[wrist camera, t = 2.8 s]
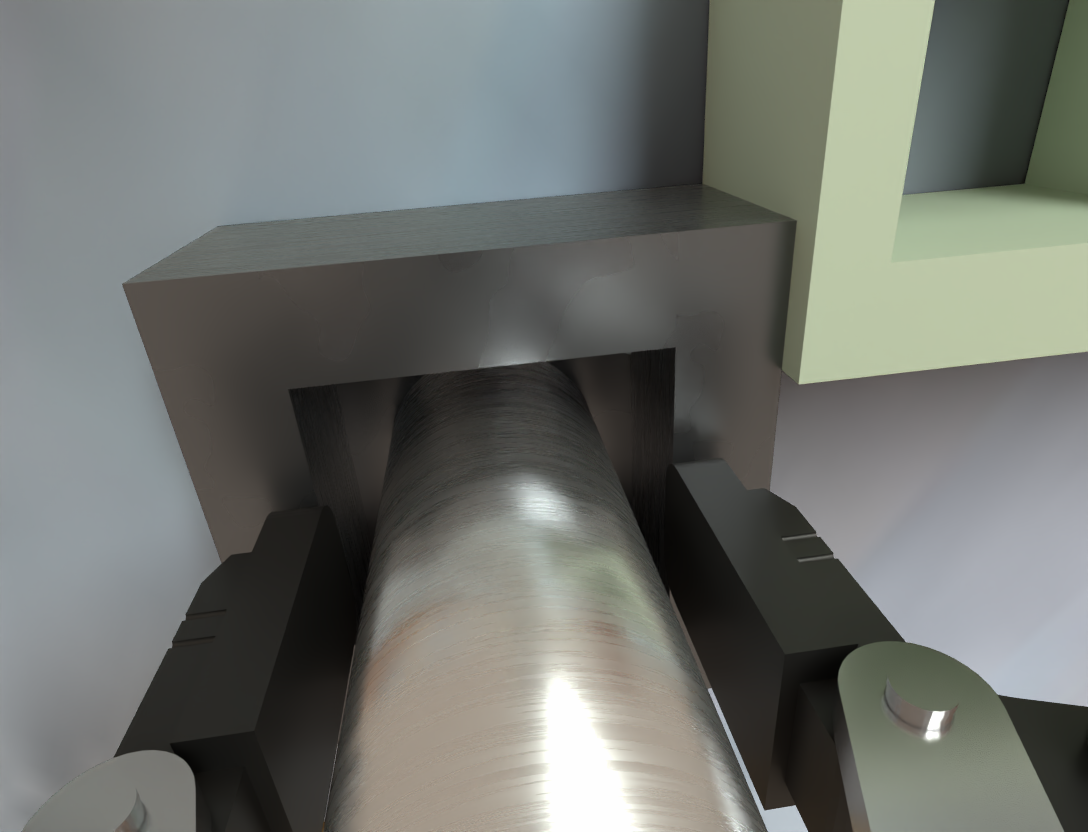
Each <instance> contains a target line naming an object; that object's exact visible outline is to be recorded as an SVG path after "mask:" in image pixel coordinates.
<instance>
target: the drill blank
mask: <svg viewBox="0 0 1088 832" xmlns="http://www.w3.org/2000/svg"><path fill="white" fill-rule="evenodd" d="M323 832H768V831H767V829H766V827H765V824H764V822H763V819H762V817H761V815H760V812H759V810H758V808H757V805H756V803H755V801H754V798H753V796H752V793H751V791H750V789H749V786H748V784H747V782H746V779H745V777H744V774H743V772H742V770H741V767H740V765H739V763H738V760H737V758H736V756H735V753H734V751H733V748H732V746H731V744H730V741H729V739H728V737H727V734H726V732H725V729H724V727H723V725H722V722H721V720H720V718H719V715H718V713H717V711H716V708H715V706H714V703H713V701H712V699H711V696H710V694H709V692H708V689H707V687H706V685H705V682H704V680H703V677H702V675H701V673H700V670H699V668H698V666H697V663H696V661H695V658H694V656H693V654H692V651H691V649H690V647H689V644H688V642H687V640H686V637H685V635H684V632H683V630H682V628H681V625H680V623H679V621H678V618H677V616H676V613H675V611H674V609H673V606H672V604H671V602H670V599H669V597H668V595H667V592H666V590H665V587H664V585H663V583H662V580H661V578H660V576H659V573H658V571H657V568H656V566H655V564H654V561H653V559H652V557H651V554H650V552H649V550H648V547H647V545H646V542H645V540H644V538H643V535H642V533H641V531H640V528H639V526H638V524H637V521H636V519H635V516H634V514H633V512H632V509H631V507H630V505H629V502H628V500H627V497H626V495H625V493H624V490H623V488H622V486H621V483H620V481H619V479H618V476H617V474H616V471H615V469H614V467H613V464H612V462H611V460H610V457H609V455H608V452H607V450H606V448H605V445H604V443H603V441H602V438H601V436H600V434H599V431H598V429H597V426H596V424H595V422H594V419H593V417H592V415H591V412H590V410H589V408H588V405H587V403H586V401H585V399H584V397H583V395H582V394H581V392H580V390H579V389H578V388H577V386H576V385H575V384H574V383H573V382H572V381H571V379H570V378H568V377H567V376H566V375H565V374H564V373H563V372H562V371H560V370H559V369H557V368H556V367H555V366H553V365H552V364H550V363H548V362H546V361H544V362H535V363H526V364H516V365H507V366H498V367H489V368H479V369H470V370H461V371H452V372H442V373H433V374H425V375H424V376H423V377H421V378H420V379H419V381H418V382H417V383H416V384H415V385H414V386H413V387H412V388H411V389H410V391H409V392H408V394H407V395H406V396H405V398H404V400H403V401H402V403H401V405H400V407H399V409H398V412H397V415H396V418H395V421H394V426H393V431H392V437H391V442H390V448H389V454H388V460H387V465H386V471H385V477H384V483H383V489H382V494H381V500H380V506H379V512H378V518H377V523H376V529H375V535H374V541H373V547H372V552H371V558H370V564H369V570H368V575H367V581H366V587H365V593H364V599H363V604H362V610H361V616H360V622H359V628H358V633H357V639H356V645H355V651H354V656H353V662H352V668H351V674H350V680H349V685H348V691H347V697H346V703H345V709H344V714H343V720H342V726H341V732H340V738H339V743H338V749H337V755H336V761H335V766H334V772H333V778H332V784H331V790H330V795H329V801H328V807H327V813H326V819H325V824H324V830H323Z"/></svg>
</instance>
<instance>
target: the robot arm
mask: <svg viewBox="0 0 1088 832" xmlns="http://www.w3.org/2000/svg"><path fill="white" fill-rule="evenodd" d="M664 560H665V568H666V574H667V579H668V584H669V587H670V591H671V594H672V596H673V599H674V601H675V604H676V606H677V608H678V611H679V613H680V615H681V617H682V620H683V622H684V624H685V627H686V629H687V631H688V634H689V636H690V638H691V641H692V643H693V645H694V648H695V650H696V652H697V655H698V657H699V659H700V662H701V664H702V666H703V669H704V671H705V673H706V676H707V678H708V680H709V683H710V685H711V687H712V690H713V692H714V694H715V696H716V699H717V701H718V703H719V706H720V708H721V710H722V713H723V715H724V717H725V720H726V722H727V724H728V727H729V729H730V731H731V734H732V736H733V738H734V741H735V743H736V745H737V748H738V750H739V752H740V755H741V757H742V759H743V762H744V764H745V766H746V769H747V771H748V773H749V775H750V778H751V780H752V782H753V785H754V787H755V789H756V792H757V794H758V796H759V799H760V801H761V803H762V806H763V808H764V810H769V809H775V808H781V807H787V806H793V805H796V807H797V809H798V811H799V813H800V815H801V817H802V819H803V821H804V823H805V826H806V828H807V830H808V832H1088V707H1085V706H1076V705H1068V704H1060V703H1052V702H1044V701H1036V700H1028V699H1020V698H1013V697H1007V696H1001V695H997V694H996V693H995V692H994V690H993V689H992V688H991V687H990V685H989V684H987V683H986V682H985V681H984V680H983V679H982V678H981V677H980V676H979V675H978V674H976V673H975V672H974V671H972V670H971V669H970V668H969V667H967V666H966V665H964V664H962V663H961V662H959V661H957V660H956V659H954V658H952V657H950V656H948V655H946V654H944V653H942V652H939V651H936V650H934V649H931V648H928V647H925V646H921V645H917V644H913V643H906V642H905V641H904V639H903V638H902V637H901V636H900V634H899V633H898V632H897V631H896V630H895V628H894V627H893V626H892V625H891V623H890V622H889V621H888V620H887V618H886V617H885V616H884V615H883V614H882V612H881V611H880V610H879V609H878V607H877V606H876V605H875V604H874V603H873V601H872V600H871V599H870V598H869V596H868V595H867V594H866V593H865V591H864V590H863V589H862V588H861V587H860V585H859V584H858V583H857V582H856V580H855V579H854V578H853V577H852V575H851V574H850V573H849V572H848V571H847V569H846V568H845V567H844V566H843V564H842V563H841V562H840V561H839V560H838V559H834V556H833V552H832V551H831V550H830V548H829V547H828V546H827V545H826V544H825V542H824V541H823V540H822V539H821V537H817V536H816V531H815V530H814V529H813V528H812V526H811V525H810V524H809V523H808V521H807V520H806V519H805V518H804V516H803V515H802V514H801V513H800V512H799V510H798V509H797V508H796V507H795V506H793V505H792V504H790V503H788V502H787V501H785V500H783V499H782V498H780V497H778V496H777V495H775V494H773V493H772V492H770V491H769V490H767V489H765V488H760V489H752V490H746V488H745V487H744V485H743V484H742V483H741V481H740V480H739V479H738V477H737V476H736V474H735V473H734V472H733V470H732V469H731V468H730V466H729V465H728V463H727V462H726V461H725V460H724V459H722V458H715V459H707V460H699V461H691V462H683V463H674V464H669V466H668V467H667V471H666V478H665V527H664ZM355 638H356V606H355V598H354V593H353V589H352V585H351V581H350V577H349V573H348V569H347V565H346V561H345V557H344V553H343V549H342V545H341V541H340V537H339V533H338V529H337V525H336V521H335V518H334V515H333V512H332V510H331V508H330V507H329V506H328V505H325V506H316V507H308V508H300V509H292V510H284V511H276V512H271V513H269V515H268V516H267V518H266V520H265V522H264V524H263V527H262V529H261V531H260V534H259V536H258V538H257V541H256V543H255V545H254V548H253V550H252V552H248V553H240V554H232V555H230V556H229V557H228V558H227V559H226V560H225V561H224V562H223V563H222V564H221V565H220V566H219V567H218V568H217V569H216V570H215V571H214V572H213V573H212V574H211V575H209V576H208V577H207V578H206V579H205V580H204V581H203V582H202V583H201V585H200V587H199V589H198V591H197V593H196V595H195V597H194V599H193V601H192V603H191V605H190V607H189V609H188V611H187V613H186V621H182V623H181V625H180V627H179V629H178V631H177V633H176V635H175V637H174V639H173V641H172V644H173V646H172V648H170V649H168V651H167V653H166V655H165V657H164V659H163V661H162V663H161V665H160V667H159V669H158V671H157V673H156V675H155V676H154V678H153V680H152V682H151V684H150V686H149V688H148V690H147V692H146V694H145V696H144V698H143V700H142V702H141V704H140V706H139V708H138V710H137V712H136V714H135V716H134V718H133V720H132V722H131V724H130V726H129V728H128V730H127V732H126V734H125V736H124V738H123V740H122V742H121V744H120V746H119V748H118V750H117V752H116V754H115V756H114V758H112V759H110V760H108V761H105V762H103V763H101V764H98V765H96V766H95V767H93V768H91V769H89V770H87V771H86V772H84V773H82V774H81V775H79V776H78V777H76V778H75V779H73V780H72V781H70V782H69V783H67V784H66V785H65V786H64V787H62V788H61V789H60V790H59V791H58V792H56V793H55V794H54V795H53V796H52V797H51V798H50V799H49V800H48V801H47V802H46V803H45V804H43V805H42V806H41V807H40V808H39V810H38V811H37V812H36V813H35V814H34V815H33V817H32V818H31V819H30V820H29V821H28V823H27V824H26V826H25V827H24V829H23V830H22V831H21V832H322V828H323V822H324V816H325V811H326V805H327V799H328V794H329V788H330V782H331V776H332V771H333V765H334V759H335V754H336V748H337V742H338V736H339V731H340V725H341V719H342V713H343V708H344V702H345V696H346V691H347V685H348V679H349V673H350V668H351V662H352V656H353V651H354V645H355Z"/></svg>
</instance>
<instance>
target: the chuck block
mask: <svg viewBox="0 0 1088 832" xmlns="http://www.w3.org/2000/svg"><path fill="white" fill-rule="evenodd" d="M796 225H797V220H794V219H792V218H789V217H787V216H784V215H782V214H779V213H777V212H774V211H772V210H769V209H766V208H764V207H761V206H759V205H756V204H754V203H751V202H749V201H746V200H744V199H741V198H738V197H736V196H733V195H731V194H728V193H726V192H723V191H721V190H718V189H716V188H713V187H710V186H708V185H705V184H703V183H701V184H690V185H678V186H667V187H656V188H645V189H633V190H622V191H611V192H599V193H588V194H577V195H565V196H554V197H543V198H532V199H520V200H509V201H498V202H486V203H475V204H464V205H452V206H441V207H430V208H418V209H407V210H396V211H385V212H373V213H362V214H351V215H339V216H328V217H317V218H305V219H294V220H283V221H271V222H260V223H249V224H238V225H226V226H217V227H216V228H214V229H213V230H211V231H209V232H208V233H206V234H204V235H203V236H201V237H199V238H198V239H196V240H194V241H193V242H191V243H189V244H188V245H186V246H184V247H183V248H181V249H179V250H178V251H176V252H174V253H173V254H171V255H169V256H168V257H166V258H164V259H163V260H161V261H159V262H158V263H156V264H154V265H153V266H151V267H149V268H148V269H146V270H145V271H143V272H141V273H140V274H138V275H136V276H135V277H133V278H131V279H130V280H128V281H126V282H125V283H123V284H122V285H123V288H124V291H125V294H126V296H127V299H128V302H129V305H130V308H131V310H132V313H133V316H134V319H135V322H136V324H137V327H138V330H139V333H140V336H141V338H142V341H143V344H144V347H145V350H146V352H147V355H148V358H149V361H150V364H151V366H152V369H153V372H154V375H155V378H156V380H157V383H158V386H159V389H160V392H161V394H162V397H163V400H164V403H165V406H166V408H167V411H168V414H169V417H170V420H171V422H172V425H173V428H174V431H175V434H176V436H177V439H178V442H179V445H180V448H181V450H182V453H183V456H184V459H185V462H186V464H187V467H188V470H189V473H190V476H191V478H192V481H193V484H194V487H195V490H196V492H197V495H198V498H199V501H200V504H201V506H202V509H203V512H204V515H205V518H206V520H207V523H208V526H209V529H210V532H211V534H212V537H213V540H214V543H215V546H216V548H217V551H218V554H219V557H220V560H221V562H222V563H223V562H224V561H225V560H226V559H227V558H228V557H229V556H230V555H232V554H240V553H248V552H252V550H253V548H254V545H255V543H256V541H257V538H258V536H259V534H260V531H261V529H262V527H263V524H264V522H265V520H266V518H267V516H268V515H269V513H271V512H276V511H284V510H292V509H300V508H308V507H316V506H325V505H328V506H329V507H330V508H331V510H332V512H333V515H334V518H335V521H336V525H337V529H338V533H339V537H340V541H341V545H342V549H343V553H344V557H345V561H346V565H347V569H348V573H349V577H350V581H351V585H352V589H353V593H354V598H355V606H356V638H355V645H356V639H357V633H358V628H359V622H360V616H361V610H362V604H363V599H364V593H365V587H366V581H367V575H368V570H369V564H370V558H371V552H372V547H373V541H374V535H375V529H376V523H377V518H378V512H379V506H380V500H381V494H382V489H383V483H384V477H385V471H386V465H387V460H388V454H389V448H390V442H391V437H392V431H393V426H394V421H395V418H396V415H397V412H398V409H399V407H400V405H401V403H402V401H403V400H404V398H405V396H406V395H407V394H408V392H409V391H410V389H411V388H412V387H413V386H414V385H415V384H416V383H417V382H418V381H419V379H420V378H421V377H423V376H424V375H425V374H433V373H442V372H452V371H461V370H470V369H479V368H489V367H498V366H507V365H516V364H526V363H535V362H544V361H546V362H548V363H550V364H552V365H553V366H555V367H556V368H557V369H559V370H560V371H562V372H563V373H564V374H565V375H566V376H567V377H568V378H570V379H571V381H572V382H573V383H574V384H575V385H576V386H577V388H578V389H579V390H580V392H581V394H582V395H583V397H584V399H585V401H586V403H587V405H588V408H589V410H590V412H591V415H592V417H593V419H594V422H595V424H596V426H597V429H598V431H599V434H600V436H601V438H602V441H603V443H604V445H605V448H606V450H607V452H608V455H609V457H610V460H611V462H612V464H613V467H614V469H615V471H616V474H617V476H618V479H619V481H620V483H621V486H622V488H623V490H624V493H625V495H626V497H627V500H628V502H629V505H630V507H631V509H632V512H633V514H634V516H635V519H636V521H637V524H638V526H639V528H640V531H641V533H642V535H643V538H644V540H645V542H646V545H647V547H648V550H649V552H650V554H651V557H652V559H653V561H654V564H655V566H656V568H657V571H658V573H659V576H660V578H661V580H662V583H663V585H664V587H665V590H666V592H667V595H668V597H669V599H670V602H671V604H672V606H673V609H674V611H675V613H676V616H677V618H678V621H679V623H680V625H681V628H682V630H683V632H684V635H685V637H686V640H687V642H688V644H689V647H690V649H691V651H692V654H693V656H694V658H695V661H696V663H697V666H698V668H699V670H700V673H701V675H702V677H703V680H704V682H705V685H706V687H707V689H708V688H712V687H711V685H710V683H709V680H708V678H707V676H706V673H705V671H704V669H703V666H702V664H701V662H700V659H699V657H698V655H697V652H696V650H695V648H694V645H693V643H692V641H691V638H690V636H689V634H688V631H687V629H686V627H685V624H684V622H683V620H682V617H681V615H680V613H679V611H678V608H677V606H676V604H675V601H674V599H673V596H672V594H671V591H670V587H669V584H668V579H667V574H666V568H665V560H664V527H665V478H666V471H667V467H668V466H669V464H674V463H683V462H691V461H699V460H707V459H715V458H722V459H724V460H725V461H726V462H727V463H728V465H729V466H730V468H731V469H732V470H733V472H734V473H735V474H736V476H737V477H738V479H739V480H740V481H741V483H742V484H743V485H744V487H745V488H746V490H752V489H760V488H765V489H767V490H770V480H771V471H772V461H773V451H774V441H775V431H776V422H777V412H778V402H779V392H780V382H781V372H782V363H783V353H784V343H785V333H786V323H787V314H788V304H789V294H790V284H791V274H792V264H793V255H794V245H795V235H796ZM355 645H354V651H355ZM354 651H353V656H354ZM353 656H352V662H353ZM352 662H351V668H352ZM351 668H350V673H349V679H348V685H349V680H350V674H351ZM348 685H347V691H348ZM347 691H346V696H345V702H344V708H343V713H342V719H341V725H340V731H339V736H338V742H337V744H338V743H339V738H340V732H341V726H342V720H343V714H344V709H345V703H346V697H347Z"/></svg>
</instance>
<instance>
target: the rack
mask: <svg viewBox="0 0 1088 832" xmlns="http://www.w3.org/2000/svg"><path fill="white" fill-rule="evenodd" d="M934 3H935V0H710V4H709V30H708V56H707V81H706V107H705V133H704V159H703V184H705V185H708V186H710V187H713V188H716V189H718V190H721V191H723V192H726V193H728V194H731V195H733V196H736V197H738V198H741V199H744V200H746V201H749V202H751V203H754V204H756V205H759V206H761V207H764V208H766V209H769V210H772V211H774V212H777V213H779V214H782V215H784V216H787V217H789V218H792V219H794V220H797V225H796V235H795V245H794V255H793V264H792V274H791V284H790V294H789V304H788V314H787V323H786V333H785V343H784V353H783V363H782V371H784V372H785V373H786V374H787V375H788V376H789V377H790V378H792V379H793V380H794V381H795V382H796V383H797V384H808V383H816V382H825V381H834V380H842V379H851V378H860V377H869V376H877V375H886V374H895V373H904V372H912V371H921V370H930V369H939V368H947V367H956V366H965V365H974V364H982V363H991V362H1000V361H1009V360H1017V359H1026V358H1035V357H1044V356H1052V355H1061V354H1070V353H1078V352H1087V351H1088V0H1070V1H1069V5H1068V9H1067V13H1066V17H1065V21H1064V25H1063V29H1062V33H1061V38H1060V42H1059V46H1058V50H1057V54H1056V58H1055V62H1054V66H1053V70H1052V74H1051V78H1050V82H1049V86H1048V90H1047V95H1046V99H1045V103H1044V107H1043V111H1042V115H1041V119H1040V123H1039V127H1038V131H1037V135H1036V139H1035V143H1034V147H1033V152H1032V156H1031V160H1030V164H1029V168H1028V172H1027V176H1026V180H1025V184H1017V185H1006V186H995V187H985V188H974V189H963V190H952V191H941V192H930V193H919V194H909V195H902V193H903V187H904V181H905V175H906V169H907V163H908V157H909V151H910V145H911V140H912V134H913V128H914V122H915V116H916V110H917V104H918V98H919V92H920V86H921V80H922V74H923V68H924V62H925V56H926V50H927V44H928V38H929V33H930V27H931V21H932V15H933V9H934Z"/></svg>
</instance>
